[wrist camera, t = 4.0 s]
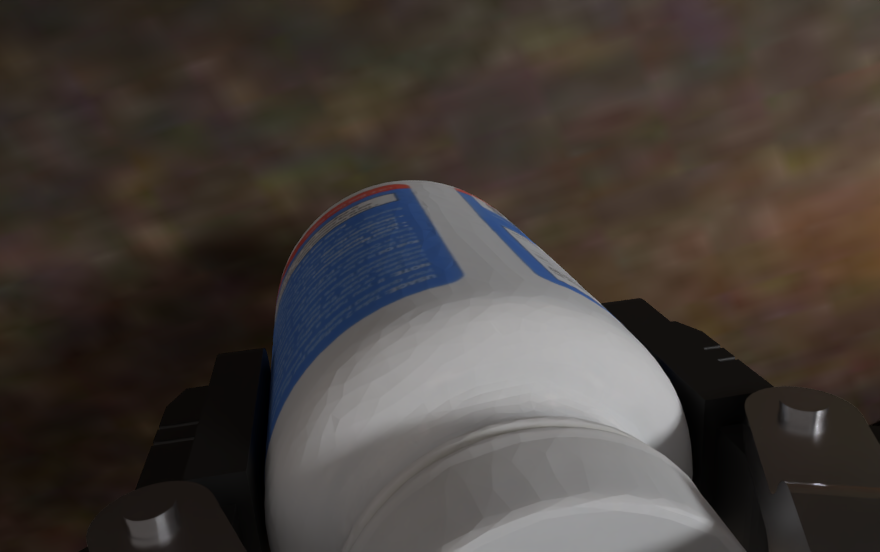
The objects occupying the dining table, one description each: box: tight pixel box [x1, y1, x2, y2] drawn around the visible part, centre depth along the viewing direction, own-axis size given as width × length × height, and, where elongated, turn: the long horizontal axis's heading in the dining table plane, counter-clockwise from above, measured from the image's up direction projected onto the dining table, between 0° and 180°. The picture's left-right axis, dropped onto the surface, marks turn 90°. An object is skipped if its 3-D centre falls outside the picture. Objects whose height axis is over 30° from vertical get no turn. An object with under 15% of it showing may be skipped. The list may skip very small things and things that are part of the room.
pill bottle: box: [264, 180, 746, 552], centre depth 11 cm, size 6×5×10 cm
